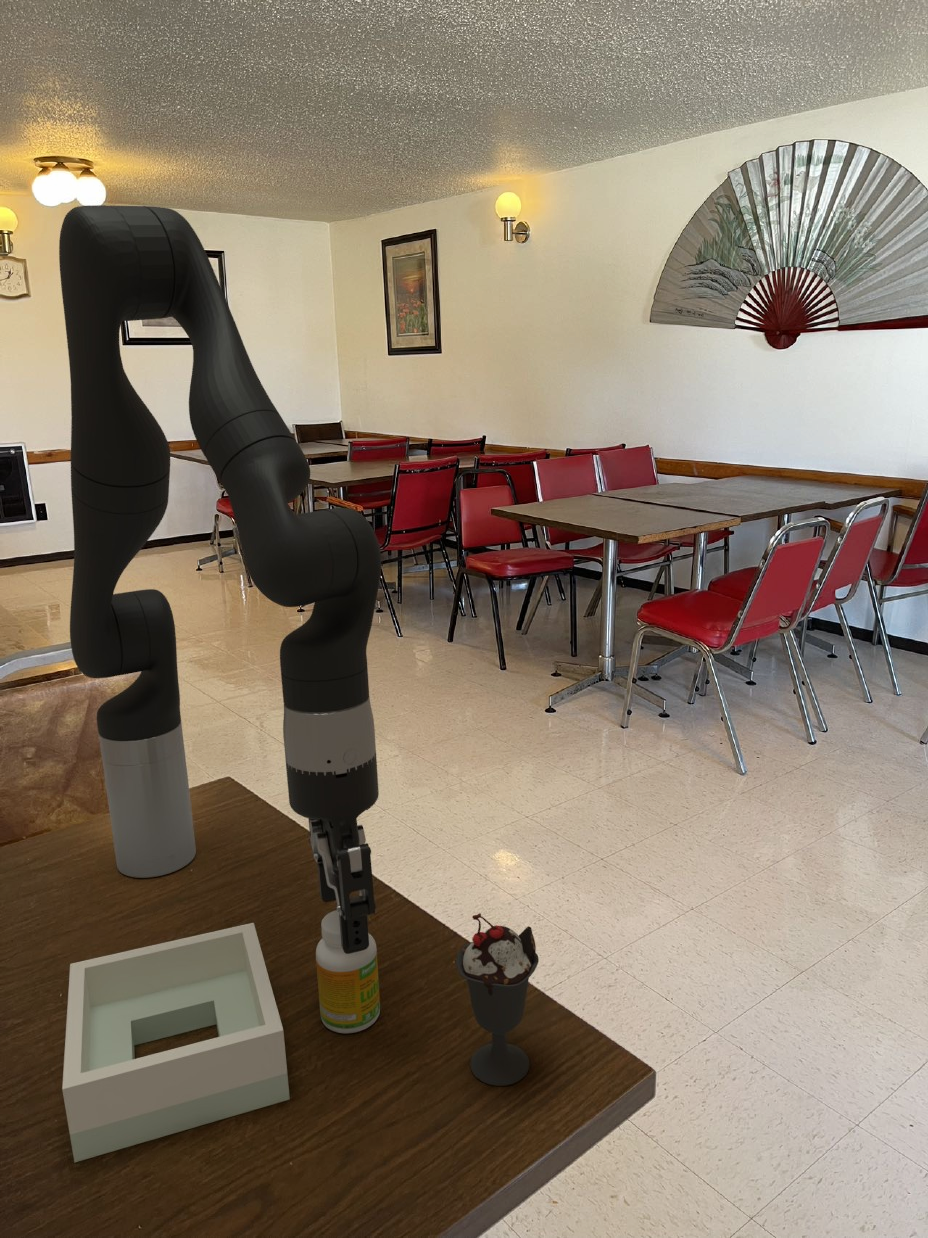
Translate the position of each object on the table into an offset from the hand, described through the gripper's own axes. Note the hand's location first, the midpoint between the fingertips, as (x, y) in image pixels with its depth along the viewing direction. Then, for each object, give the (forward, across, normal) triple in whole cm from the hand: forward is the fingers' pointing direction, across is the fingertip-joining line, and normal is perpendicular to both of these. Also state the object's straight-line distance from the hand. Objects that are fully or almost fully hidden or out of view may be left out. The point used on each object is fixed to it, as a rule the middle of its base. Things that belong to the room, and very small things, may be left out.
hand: (343, 923), depth 80 cm
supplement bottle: (+10, 0, 0) cm, 10 cm away
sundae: (+10, +10, +10) cm, 18 cm away
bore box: (+10, 0, -15) cm, 18 cm away
